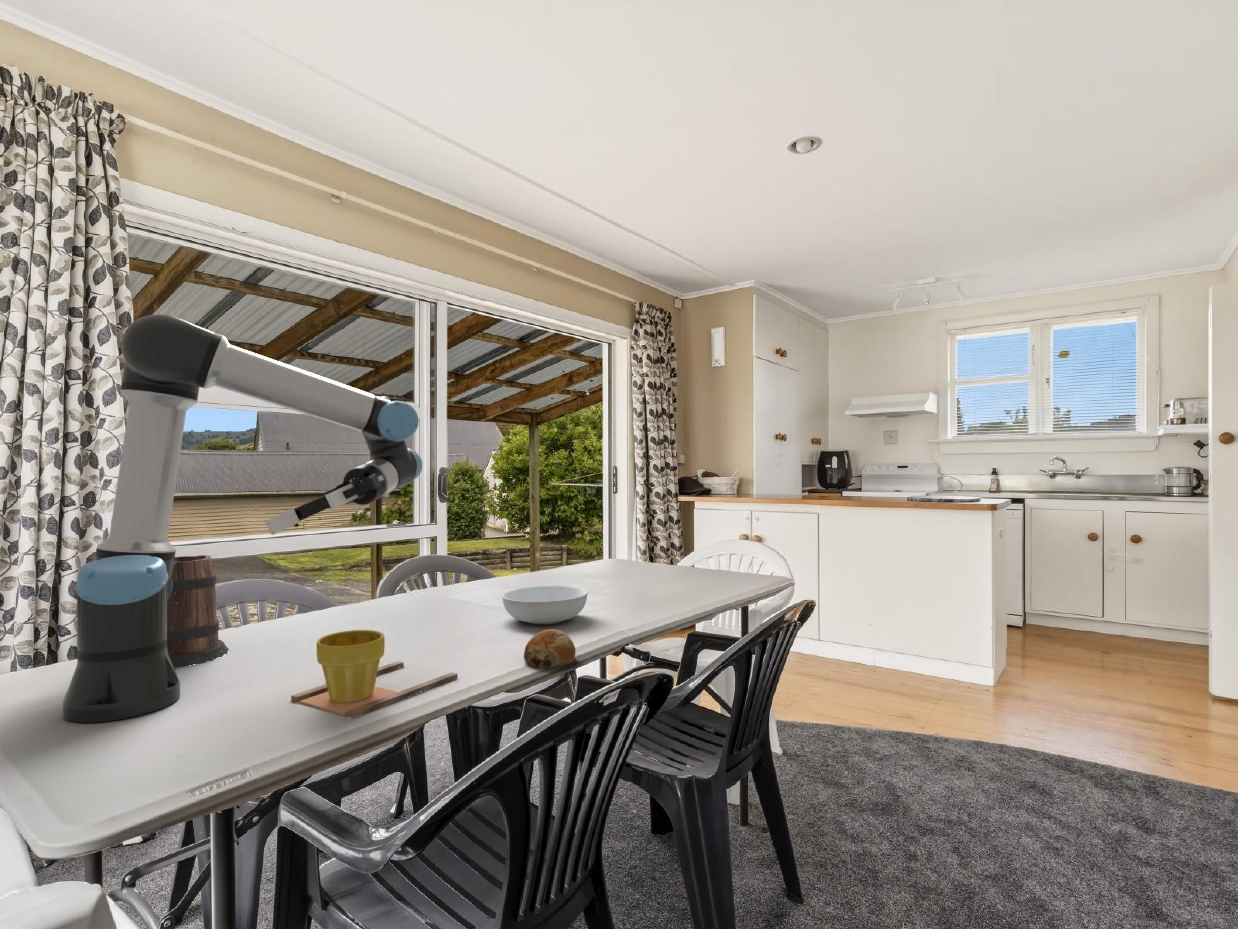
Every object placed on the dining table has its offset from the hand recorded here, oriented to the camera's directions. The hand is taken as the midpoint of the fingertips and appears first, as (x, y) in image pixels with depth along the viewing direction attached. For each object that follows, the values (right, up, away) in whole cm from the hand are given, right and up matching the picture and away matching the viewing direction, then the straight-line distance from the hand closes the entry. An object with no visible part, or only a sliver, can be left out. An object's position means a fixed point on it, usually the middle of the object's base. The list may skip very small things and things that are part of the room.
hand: (299, 515), depth 114 cm
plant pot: (+10, -30, -4) cm, 32 cm away
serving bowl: (+36, -30, +51) cm, 70 cm away
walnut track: (+13, -30, +1) cm, 33 cm away
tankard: (-36, -31, +24) cm, 53 cm away
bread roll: (+41, -30, +17) cm, 54 cm away
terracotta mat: (+10, -30, -4) cm, 32 cm away
